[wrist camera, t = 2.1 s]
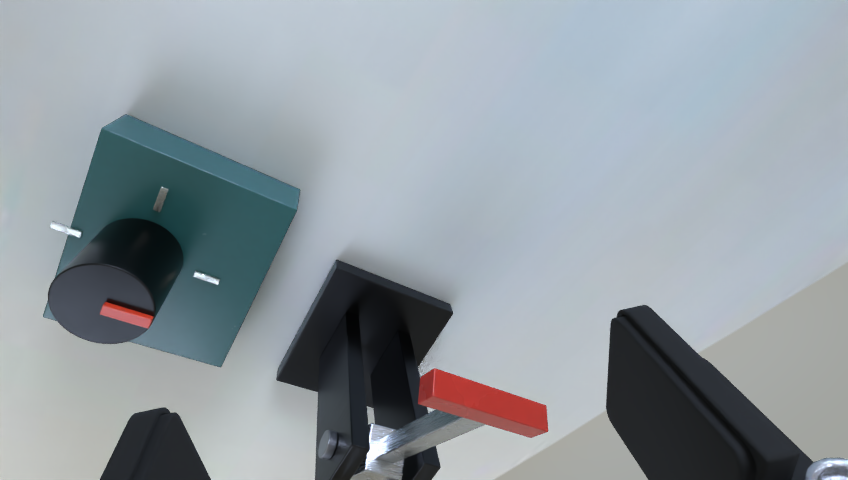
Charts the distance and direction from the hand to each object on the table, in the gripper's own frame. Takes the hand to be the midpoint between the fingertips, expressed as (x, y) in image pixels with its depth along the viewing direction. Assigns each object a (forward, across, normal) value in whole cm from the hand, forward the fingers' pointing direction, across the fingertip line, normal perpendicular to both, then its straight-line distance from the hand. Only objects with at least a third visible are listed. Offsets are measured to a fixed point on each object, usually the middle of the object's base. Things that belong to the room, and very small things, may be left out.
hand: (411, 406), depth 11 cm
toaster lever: (+10, 0, +10) cm, 14 cm away
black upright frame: (+22, +2, +14) cm, 26 cm away
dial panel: (+21, +12, +4) cm, 25 cm away
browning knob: (+18, +13, +3) cm, 22 cm away
